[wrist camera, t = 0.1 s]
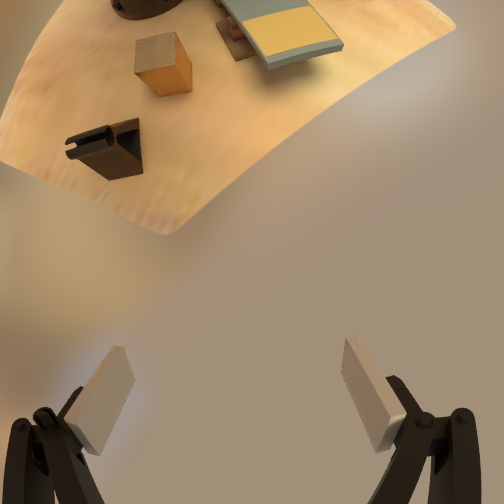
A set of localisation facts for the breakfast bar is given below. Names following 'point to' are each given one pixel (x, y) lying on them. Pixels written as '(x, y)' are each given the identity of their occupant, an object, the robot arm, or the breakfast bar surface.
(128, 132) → the phone stand
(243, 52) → the beam stand
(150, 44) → the wooden block
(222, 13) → the breakfast bar surface
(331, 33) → the beam
